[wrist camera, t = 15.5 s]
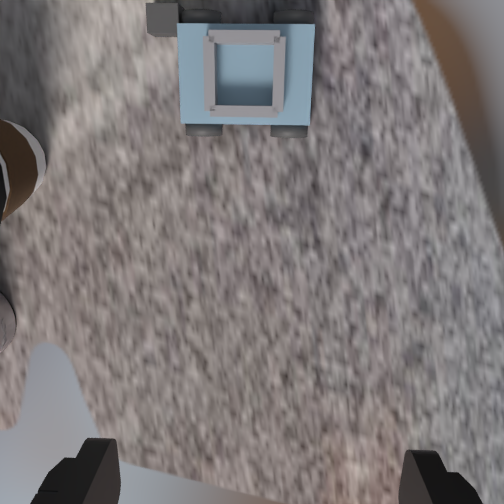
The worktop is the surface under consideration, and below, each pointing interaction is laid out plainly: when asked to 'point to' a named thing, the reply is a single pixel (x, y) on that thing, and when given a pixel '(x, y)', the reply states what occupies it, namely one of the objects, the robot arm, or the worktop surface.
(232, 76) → the trolley
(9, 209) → the coffee cup
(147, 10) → the block
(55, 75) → the worktop surface
